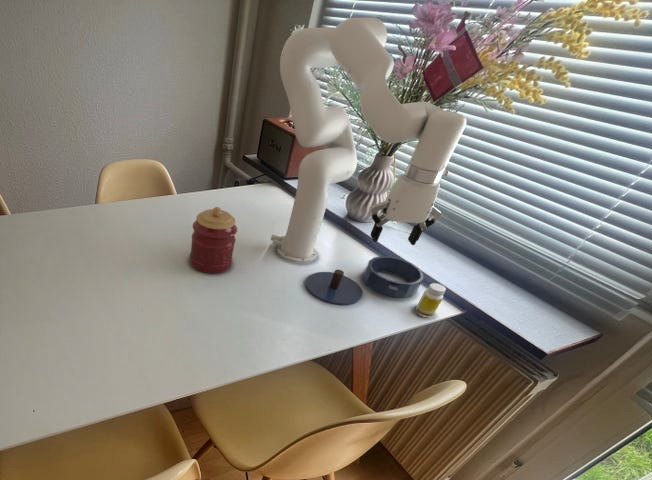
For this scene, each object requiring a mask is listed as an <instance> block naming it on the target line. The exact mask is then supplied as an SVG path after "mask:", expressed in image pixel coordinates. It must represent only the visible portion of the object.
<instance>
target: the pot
mask: <svg viewBox="0 0 652 480" xmlns="http://www.w3.org/2000/svg"><path fill="white" fill-rule="evenodd" d="M378 272H383V273H389V274H393V275H396V276H399V277H400V278H402V279H404V280H406V281H407V282H402V281H401V282H400V281H396V280H392V279H388V278H386V277H384V276H383V275H380V274H379V273H378ZM362 281H363V283H364V285H365V286H366V287H367V288H368V289H370V290H371V291H372V292H374V293H377V295H378V294H379V295H380V296H383V297H387V298H390V299H401V300H403V299H408V298H409V299H410V298H412V297H413V296H415V294H416V293H417V291H418V290H419V288H420V286H421V285H422V282H423V281H424V273H423V271H422V270H421V269H420V268H419V267H418V266H417V265H415V264H413V263H412V262H410V261H408V260H405V259H403V258H401V256H397V255H394V254H391V256H387V255H386V256H385V255H380V256H375V257H373V258H371V259H369V260H368V263H367V265H366V267H365V270H364V273H363V276H362Z"/></svg>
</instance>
